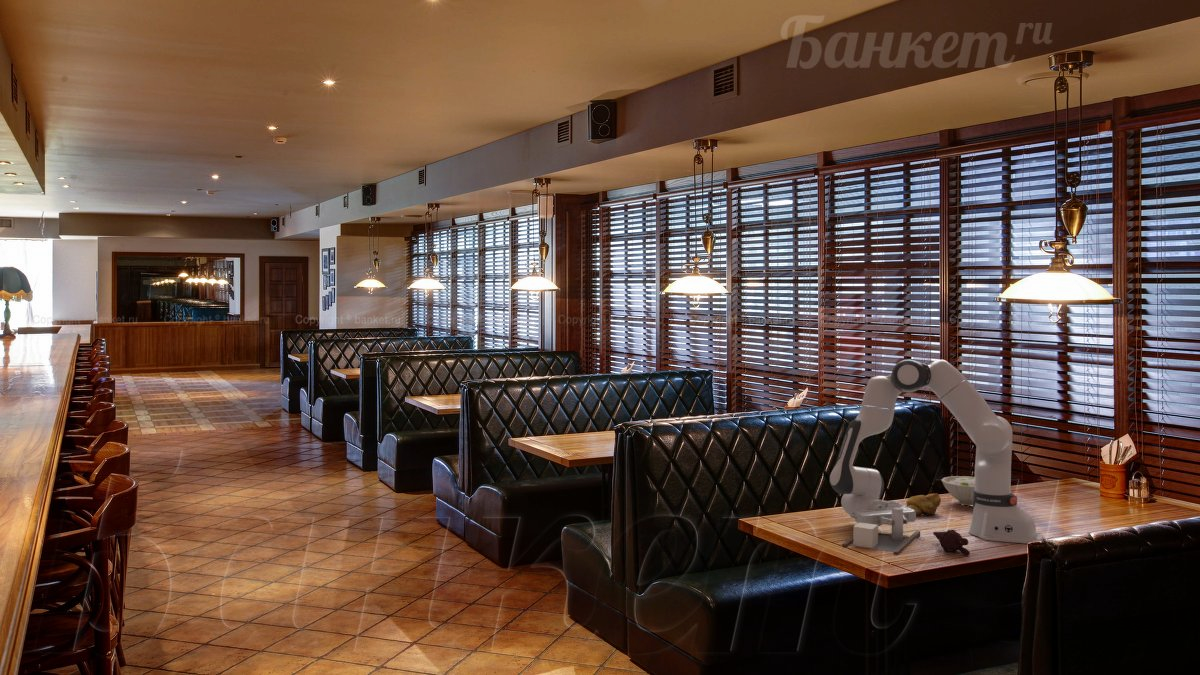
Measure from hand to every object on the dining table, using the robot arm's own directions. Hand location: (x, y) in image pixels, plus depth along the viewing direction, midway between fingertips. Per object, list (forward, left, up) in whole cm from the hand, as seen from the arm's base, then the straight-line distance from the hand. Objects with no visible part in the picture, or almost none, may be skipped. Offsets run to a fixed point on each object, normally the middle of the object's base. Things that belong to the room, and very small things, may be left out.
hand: (899, 522), depth 291 cm
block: (+8, +10, -6) cm, 14 cm away
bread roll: (+4, -43, -7) cm, 44 cm away
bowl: (-8, -67, -7) cm, 68 cm away
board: (+5, +5, -7) cm, 10 cm away
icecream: (-16, 0, -7) cm, 17 cm away
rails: (+5, +3, -7) cm, 9 cm away
